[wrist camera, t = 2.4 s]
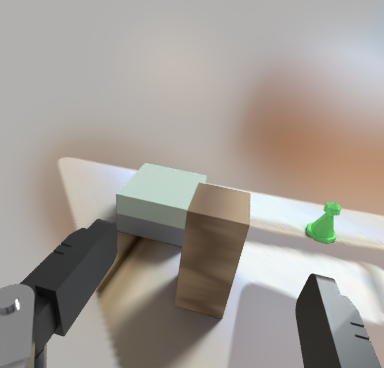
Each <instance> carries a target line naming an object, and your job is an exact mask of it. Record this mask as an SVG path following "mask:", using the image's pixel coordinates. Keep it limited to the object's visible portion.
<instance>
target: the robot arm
mask: <svg viewBox="0 0 384 368" xmlns="http://www.w3.org/2000/svg"><path fill="white" fill-rule="evenodd" d="M116 253H117V225H116V223H113V222H109V221H105V220H101V219H97V220H96V221H95V222H94V223H93V224H92V225H91V226H90V227H89V228H88V229H86V228H81V229H79V230H77V231H75V232H73V233H72V234H70V235H69V236H68V237H67V238H66V239H65V240H64V241H63V242H62V243H61V245H59V246H58V247H57V248H56V249H55V250H54V252H53V253H51V254H50V255H49V256H48V257H47V258H46V259H45V260H44V261H43V262H42V263H41V264H40V265H39V266H37V268H35V269H34V271H32V273H30V274H29V275H28V276H27V277H26V278H25V279H24V280H23V281H22V282H21V283H20V284H15V285H9V286H6V287H3V288H1V289H0V368H46V358H47V357H46V356H47V344H46V343H47V342H48V341H49V339H50V338H51V336H52V335H53V334H54V333H55V334H57V335H60V336H65V335H66V333H67V332H68V330H69V329H70V327H71V325H72V324H73V323H74V321H75V320H76V318H77V317H78V315H79V313H80V312H81V310H82V309H83V308H84V306H85V305H86V303H87V302H88V300H89V299H90V297H91V296H92V294H93V293H94V291H95V290H96V288H97V287H98V285H99V284H100V282H101V281H102V279H103V278H104V276H105V275H106V273H107V272H108V270H109V269H110V267H111V266H112V264H113V262H114V260H115V257H116ZM296 320H297V327H298V333H299V339H300V345H301V351H302V357H303V363H304V368H381V366H380V363H379V361H378V358H377V356H376V353H375V351H374V348H373V346H372V344H371V341H369V336H368V334H367V331H366V329H365V328H364V324H363V322H362V319H361V317H360V314H359V312H358V310H357V309H356V308H355V306H354V305H353V304H352V302H351V301H350V300H349V299H348V297H346V296H342V295H340V292H339V290H338V287H337V284H336V282H335V280H334V279H332V278H329V277H325V276H321V275H317V274H311V275H310V276H309V277H308V279H307V281H306V283H305V285H304V287H303V289H302V291H301V293H300V295H299V297H298V299H297V303H296Z"/></svg>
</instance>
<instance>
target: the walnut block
mask: <svg viewBox="0 0 384 368" xmlns="http://www.w3.org/2000/svg"><path fill="white" fill-rule="evenodd" d="M249 225H250V193H247V192H242V191H237V190H232V189H228V188H223V187H218V186H214V185H209V184H204V183H198V185H197V188H196V190H195V193H194V195H193V198H192V200H191V202H190V205H189V207H188V210H187V215H186V222H185V229H184V237H183V244H182V251H181V259H180V266H179V273H178V281H177V288H176V295H175V303H174V306H177V307H181V308H184V309H188V310H191V311H195V312H199V313H202V314H206V315H209V316H213V317H217V318H220V319H222V317H223V314H224V311H225V307H226V304H227V300H228V297H229V293H230V290H231V287H232V283H233V280H234V276H235V273H236V270H237V266H238V263H239V259H240V256H241V253H242V249H243V246H244V242H245V239H246V235H247V232H248V229H249Z"/></svg>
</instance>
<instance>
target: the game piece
mask: <svg viewBox="0 0 384 368" xmlns="http://www.w3.org/2000/svg"><path fill="white" fill-rule="evenodd" d="M340 210H341V207H340V206H339V205H338V204H336V203H333V202H332V203H331V202H330V203H326V204H325V207H324V211H325V212H326V213H325V214H324V215H323V216H321V217H320V218H319V219H318V220H316V221H315V222H313V223H309V224H308V225H307V227H306V229H307V234H308V235H309V236H310V237H312V238H313V239H314V240H315V241H318V242H322V243H326V244H329V243H332V242H334V241H335V239H336V235H335V231H333V215H339V213H340Z"/></svg>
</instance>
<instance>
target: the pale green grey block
mask: <svg viewBox="0 0 384 368" xmlns="http://www.w3.org/2000/svg"><path fill="white" fill-rule="evenodd" d="M206 178H207V176H206V175H201V174H196V173H191V172H187V171H182V170H177V169H173V168H168V167H163V166H158V165H153V164H148V163H145V164H144V165H143V166H142V167H141V168H140V169H139V170H138V171H137V172H136V173H135V174H134V175H133V176H132V177H131V179H130V180H129V181H128V182H127V183H126V184H125V185H124V186H123V187H122V188H121V189H120V190H119V191H118V192H117V193H116V210H117V231H120V232H124V233H128V234H132V235H136V236H140V237H144V238H148V239H152V240H156V241H160V242H164V243H168V244H172V245H176V246H180V247H182V244H183V237H184V229H185V222H186V215H187V210H188V207H189V205H190V202H191V200H192V198H193V195H194V193H195V190H196V188H197V185H198V183H204V184H206Z"/></svg>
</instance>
